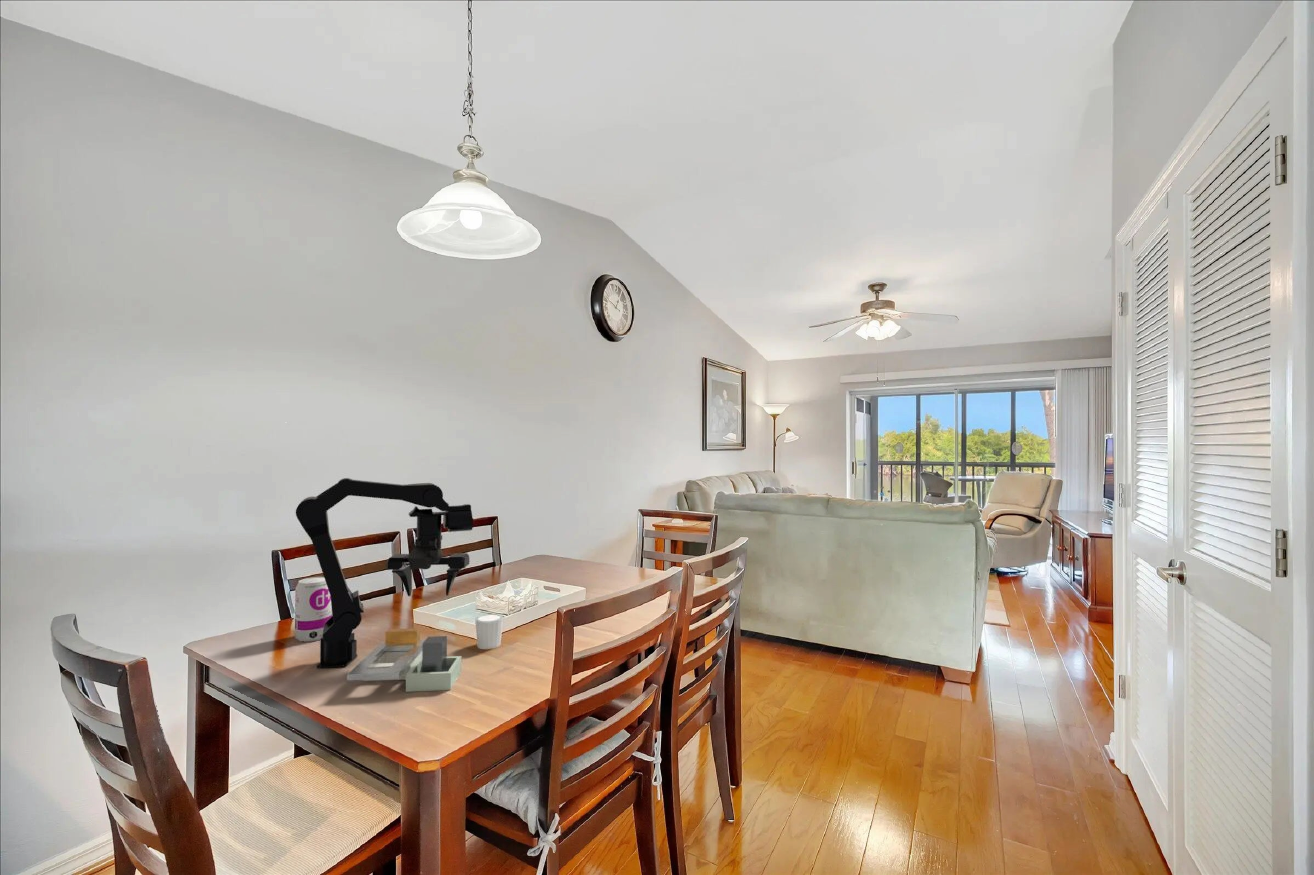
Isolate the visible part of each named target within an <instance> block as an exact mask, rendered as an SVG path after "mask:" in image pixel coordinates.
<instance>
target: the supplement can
mask: <svg viewBox="0 0 1314 875" xmlns="http://www.w3.org/2000/svg"><path fill="white" fill-rule="evenodd" d="M294 590H295V591H294V592H295V593H294V594H295V595H294V598H295V599H294V601H295V603H294V604H295V607H294V608H295V609H294V611H295V612H294V638H295V639H296V640H297V641H298V642H302V641H304V642H307V643H309V642H314V641H320V638H322V637H323V628H324V623H325V622H327V621H328V620H329V619H330V618H331V617H332V606H331V596H330V593H329V590H328V587H327V584H326V581H325V578H324V576H313V577H307V578H303V579H300V580H298V583H297V585H296V586H295V589H294ZM304 642H303V643H304Z"/></svg>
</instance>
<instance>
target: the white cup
mask: <svg viewBox="0 0 1314 875" xmlns="http://www.w3.org/2000/svg"><path fill="white" fill-rule="evenodd" d="M503 622H504V616H503V615H501V614H498V613H488V614H482V615H479V616H476V617H475V629H476V631H475V633H476V643H477V648H478V649H481V650H493V649H495V648H496V649H497V648H498V647H501V644H502V633H503V624H504V623H503Z"/></svg>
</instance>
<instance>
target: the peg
mask: <svg viewBox="0 0 1314 875" xmlns="http://www.w3.org/2000/svg"><path fill="white" fill-rule="evenodd" d="M423 641H424V642H423V646H422V673H423V672H448V671H449V669H450V668H451V667H447V657H448V653H447V652H448V636H447V635H445V636H444V635H441V636H439V635H438V636H427V637H426V638H425V640H423Z"/></svg>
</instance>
